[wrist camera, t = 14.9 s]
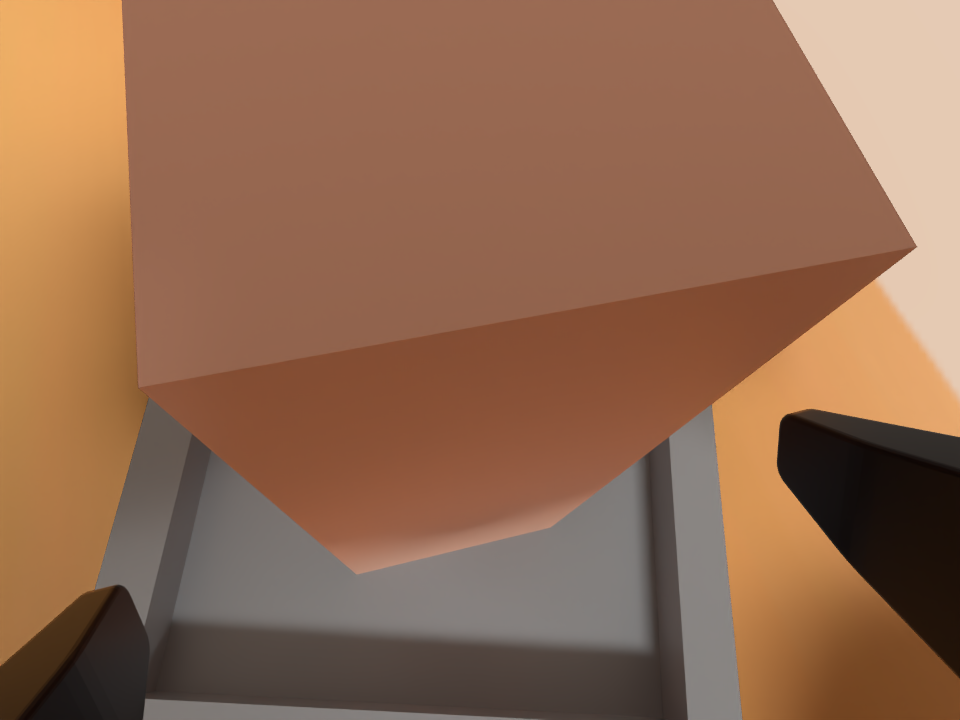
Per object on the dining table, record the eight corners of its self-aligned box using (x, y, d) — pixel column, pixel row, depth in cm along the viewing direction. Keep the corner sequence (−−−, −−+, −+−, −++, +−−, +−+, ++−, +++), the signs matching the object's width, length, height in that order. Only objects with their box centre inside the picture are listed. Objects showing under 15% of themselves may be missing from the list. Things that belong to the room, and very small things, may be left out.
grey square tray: (700, 771, 15) (749, 797, 13) (105, 742, 14) (45, 765, 12) (664, 274, 21) (694, 229, 18) (234, 232, 20) (209, 181, 18)
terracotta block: (550, 527, 16) (917, 246, 4) (356, 574, 15) (138, 387, 3) (502, 353, 18) (665, -184, 6) (326, 387, 17) (115, -163, 5)
